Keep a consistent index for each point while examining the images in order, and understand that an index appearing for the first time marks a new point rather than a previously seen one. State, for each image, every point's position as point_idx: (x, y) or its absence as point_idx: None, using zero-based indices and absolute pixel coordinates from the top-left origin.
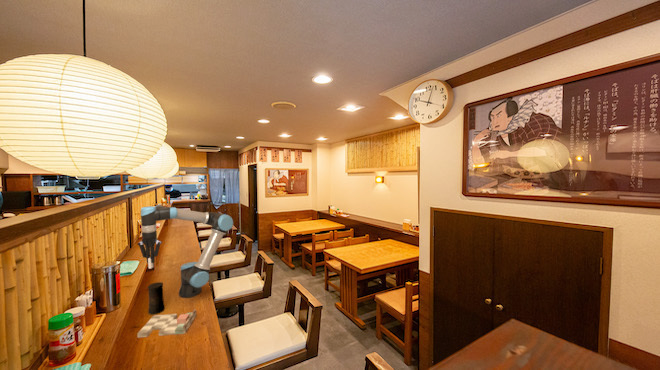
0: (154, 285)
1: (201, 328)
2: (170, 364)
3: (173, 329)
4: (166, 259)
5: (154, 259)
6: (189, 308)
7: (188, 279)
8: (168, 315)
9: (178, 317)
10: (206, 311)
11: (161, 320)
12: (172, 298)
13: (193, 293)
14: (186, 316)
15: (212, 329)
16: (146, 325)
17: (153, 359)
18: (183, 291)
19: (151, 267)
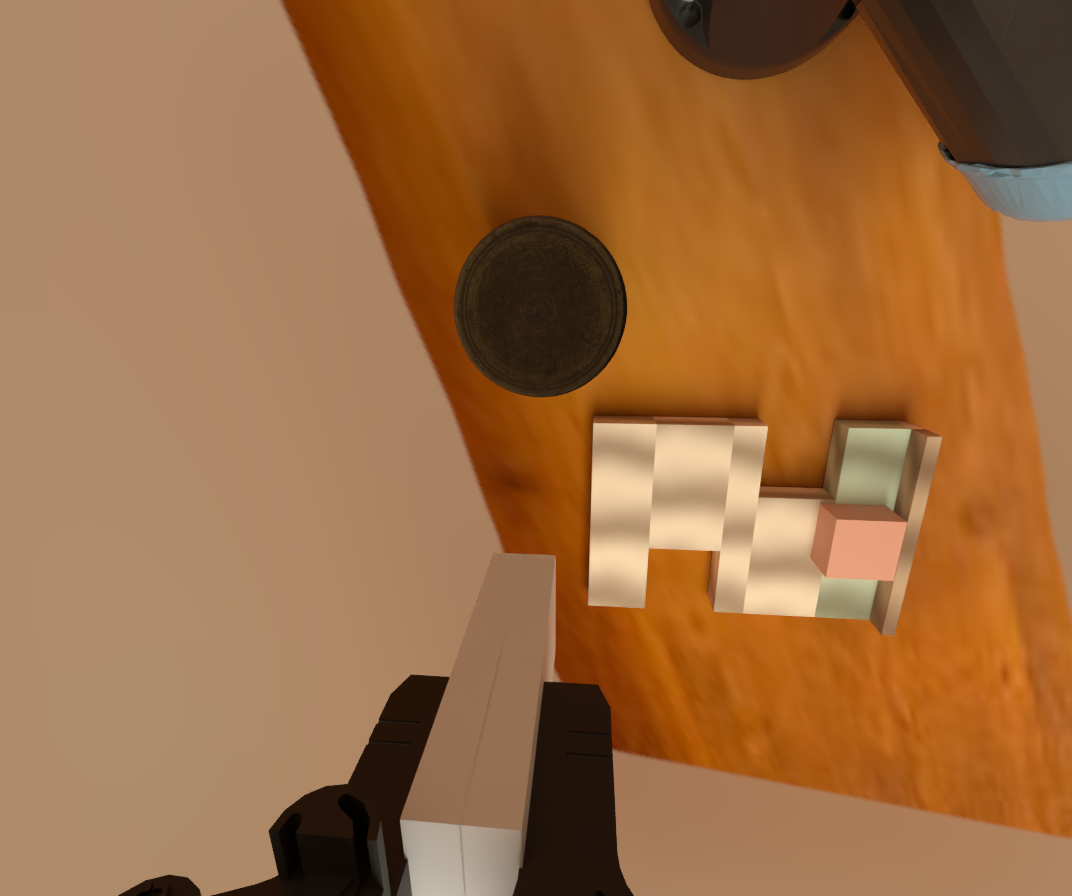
0: (530, 322)
1: (967, 574)
2: (846, 795)
3: (803, 609)
4: None
5: (611, 768)
6: (827, 298)
7: (954, 106)
8: (709, 441)
9: (831, 557)
10: (986, 369)
11: (681, 497)
12: (605, 73)
13: (833, 36)
14: (892, 554)
15: (1045, 597)
16: (603, 536)
17: (753, 753)
18: (733, 32)
19: (554, 649)
